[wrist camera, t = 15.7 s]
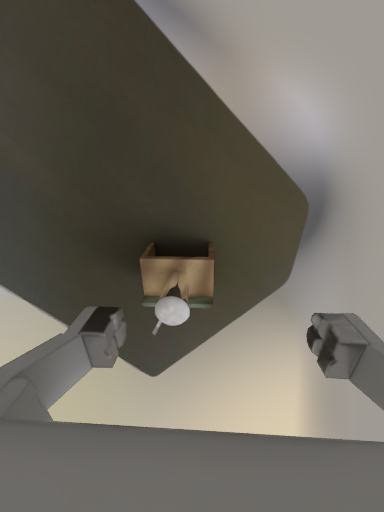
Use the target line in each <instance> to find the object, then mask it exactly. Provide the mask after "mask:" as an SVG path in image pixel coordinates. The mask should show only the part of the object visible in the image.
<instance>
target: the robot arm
mask: <svg viewBox="0 0 384 512" xmlns="http://www.w3.org/2000/svg"><path fill="white" fill-rule="evenodd" d="M123 316H124V311H123V309H122V308H120V307H101V306H99V307H97V306H88V307H86V308H85V309H84V310H83V311H82V312H81V313H80V315H79V316H78V317H77V318H76V320H75V321H74V322H73V323H72V324H71V326H70V327H69V328H68V329H67V331H66V332H65V333H64V334H59V335H57V336H55V337H53V338H52V339H50V340H48V341H46V342H44V343H43V344H41V345H39V346H37V347H36V348H34V349H32V350H30V351H28V352H27V353H25V354H23V355H21V356H20V357H18V358H16V359H14V360H12V361H11V362H9V363H7V364H5V365H3V366H2V367H0V512H384V442H374V441H359V440H343V439H327V438H312V437H296V436H280V435H263V434H248V433H233V432H232V433H231V432H216V431H200V430H184V429H168V428H152V427H136V426H120V425H104V424H89V423H72V422H57V421H53V420H52V418H51V416H50V414H49V412H48V411H47V409H48V408H50V406H52V405H53V404H54V403H55V402H56V401H57V400H58V399H59V398H61V397H62V396H63V395H64V394H65V393H66V392H67V391H68V390H69V389H70V388H71V387H72V386H73V385H75V384H76V383H77V382H78V381H79V380H80V379H81V378H82V377H84V376H85V375H86V374H87V373H88V372H89V371H90V370H91V369H92V367H96V368H112V367H113V366H114V364H115V361H116V359H117V357H118V355H119V351H118V348H119V347H121V346H122V345H123V343H124V341H125V338H126V333H127V326H126V322H125V321H124V320H123V319H122V318H123ZM311 322H312V323H313V325H312V326H311V327H309V328H308V331H307V343H308V346H309V348H310V350H311V352H312V353H314V354H315V355H316V356H318V360H317V362H318V364H319V366H320V368H321V370H322V371H323V373H324V375H325V377H326V378H338V379H350V381H351V382H352V383H353V384H354V385H355V386H356V387H357V388H359V389H360V390H361V391H362V392H363V393H364V394H365V395H367V396H368V397H369V398H370V399H371V400H372V401H373V402H375V403H376V404H377V405H378V406H379V407H380V408H382V409H383V410H384V342H383V341H382V340H381V339H380V338H379V337H378V336H377V335H376V334H375V333H374V332H373V331H372V330H371V329H370V328H369V327H368V326H367V325H366V324H365V323H364V322H363V321H362V320H361V319H360V318H359V317H358V316H357V315H355V314H354V313H340V314H338V313H314V314H313V315H312V318H311Z"/></svg>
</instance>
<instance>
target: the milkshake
mask: <svg viewBox="0 0 384 512" xmlns="http://www.w3.org/2000/svg"><path fill="white" fill-rule="evenodd" d="M189 313H190V311H189V278H188V276H187V274H186V273H184V272H182V271H175V272H173V273H172V274H171V275H170V277H169V279H168V281H167V283H166V286H165V288H164V290H163V292H162V294H161V296H160V298H159V300H158V302H157V304H156V306H155V314H156V316H157V318H158V319H159V321H158V323H157V325H156V327H155V329H154V331H153V334H154V335H155V334H156V332H157V330H158V328H159V326H160V324H161V323H162V322H163V323H165V324H167V325H179V324H181V323H183V322H185V321H186V320H187V319H188V317H189Z"/></svg>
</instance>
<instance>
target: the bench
mask: <svg viewBox="0 0 384 512" xmlns="http://www.w3.org/2000/svg"><path fill="white" fill-rule="evenodd" d="M140 266H141V273H142V280H143V287H144V295H145V296H144V298H143V301H142V306H151V307H155V306H156V304H157V302H158V300H159V298H160V296H161V294H162V292H163V290H164V288H165V286H166V283H167V281H168V279H169V277H170V275H171V274H172V273H173V272H175V271H182V272H184V273H186V274H187V276H188V278H189V308H213V278H214V253H213V243H209V244H208V257H155V247H154V243H150V244H149V245H148V247H147V248H146V250H145V251H144V253H143V254H142V256H141V257H140Z"/></svg>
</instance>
